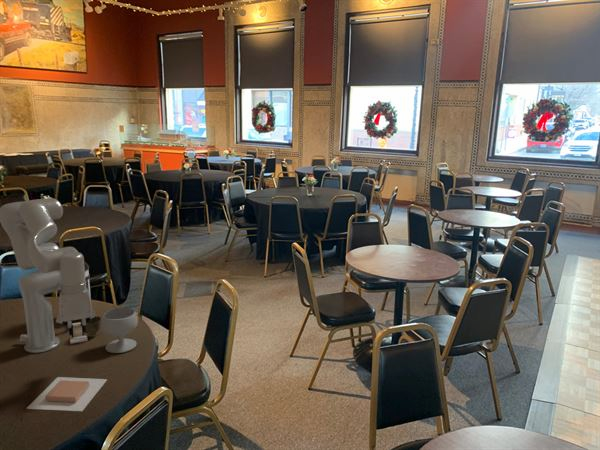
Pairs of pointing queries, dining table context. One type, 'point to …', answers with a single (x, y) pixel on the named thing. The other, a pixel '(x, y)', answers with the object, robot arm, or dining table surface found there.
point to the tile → (67, 391)
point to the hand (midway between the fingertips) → (77, 335)
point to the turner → (77, 333)
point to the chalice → (120, 328)
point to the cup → (93, 326)
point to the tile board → (68, 406)
